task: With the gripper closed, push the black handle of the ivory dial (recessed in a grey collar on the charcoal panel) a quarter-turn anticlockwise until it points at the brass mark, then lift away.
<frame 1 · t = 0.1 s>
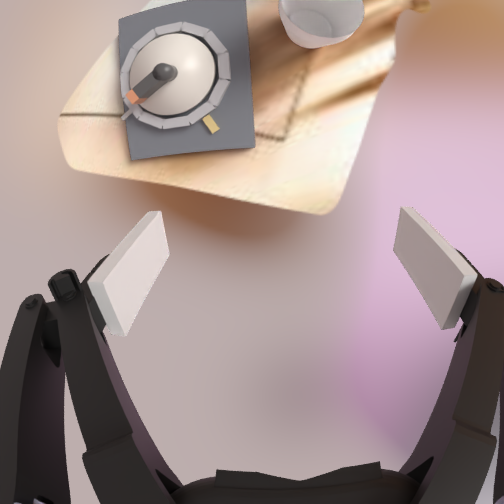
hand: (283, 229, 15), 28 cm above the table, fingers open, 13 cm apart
panel: (184, 74, 34), on the table
cup: (308, 29, 30), on the table
dial: (167, 73, 30), point 4 cm above the table, hinge at 0.0°
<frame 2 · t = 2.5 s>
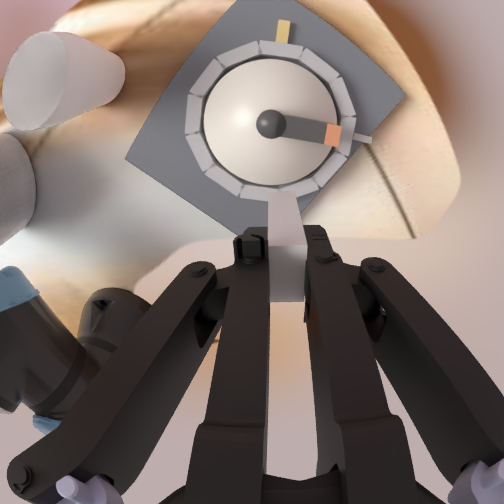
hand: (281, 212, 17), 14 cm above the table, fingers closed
panel: (262, 114, 26), on the table
planter: (9, 180, 30), on the table
cup: (102, 78, 24), on the table
dial: (270, 122, 23), point 4 cm above the table, hinge at 0.0°
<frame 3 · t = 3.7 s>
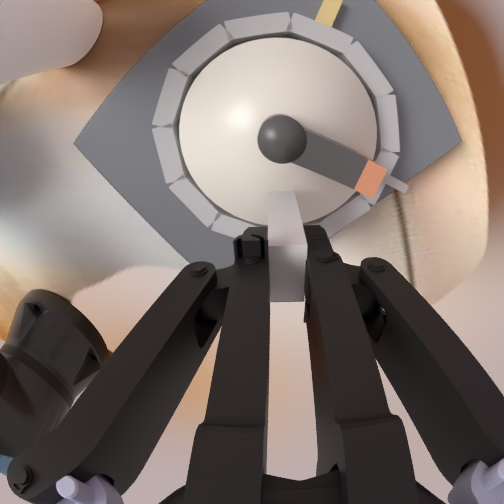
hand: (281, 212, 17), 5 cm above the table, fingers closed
panel: (268, 117, 18), on the table
cup: (73, 32, 14), on the table
dial: (280, 134, 15), point 4 cm above the table, hinge at 0.0°
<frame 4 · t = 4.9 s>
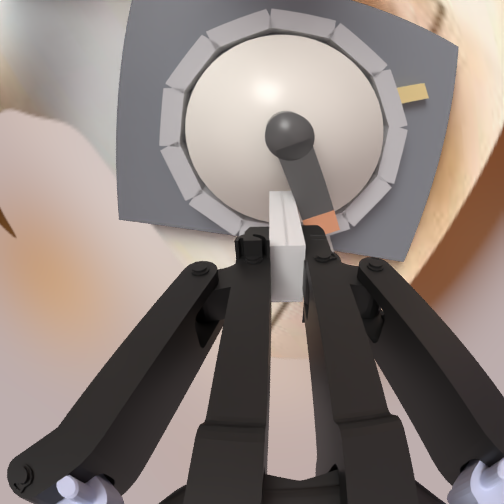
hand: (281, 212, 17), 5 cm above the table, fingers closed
panel: (285, 111, 18), on the table
dial: (287, 131, 15), point 4 cm above the table, hinge at 0.1°, touching gripper
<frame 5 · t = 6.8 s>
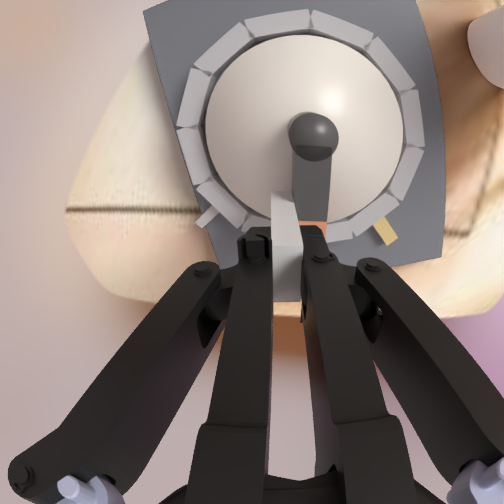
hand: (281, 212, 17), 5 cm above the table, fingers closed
panel: (316, 123, 18), on the table
cup: (491, 52, 12), on the table
dial: (309, 132, 15), point 4 cm above the table, hinge at 47.6°, touching gripper
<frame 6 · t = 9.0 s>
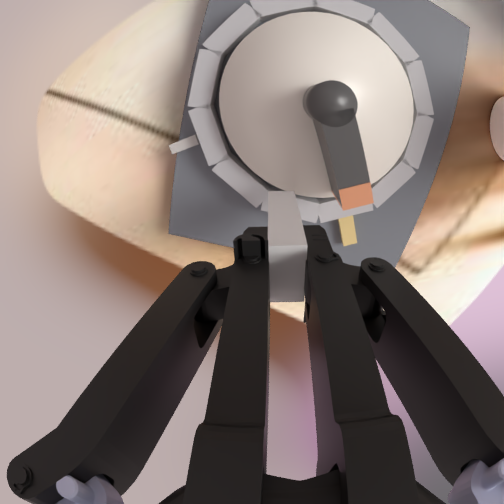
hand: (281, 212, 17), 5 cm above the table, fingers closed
panel: (327, 106, 18), on the table
dial: (324, 102, 14), point 4 cm above the table, hinge at 90.7°
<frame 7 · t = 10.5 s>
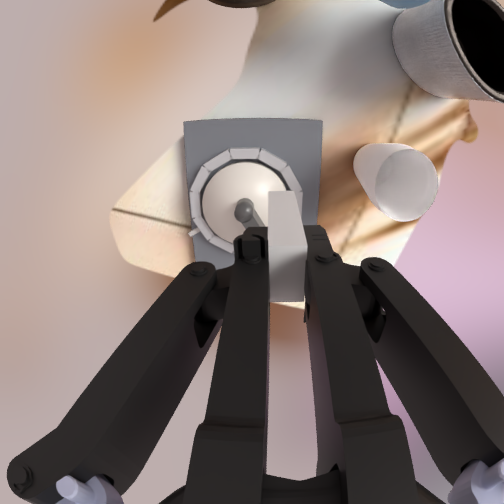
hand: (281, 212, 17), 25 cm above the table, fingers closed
panel: (253, 198, 42), on the table
planter: (431, 51, 28), on the table
cup: (372, 164, 39), on the table
dial: (244, 207, 38), point 4 cm above the table, hinge at 90.7°
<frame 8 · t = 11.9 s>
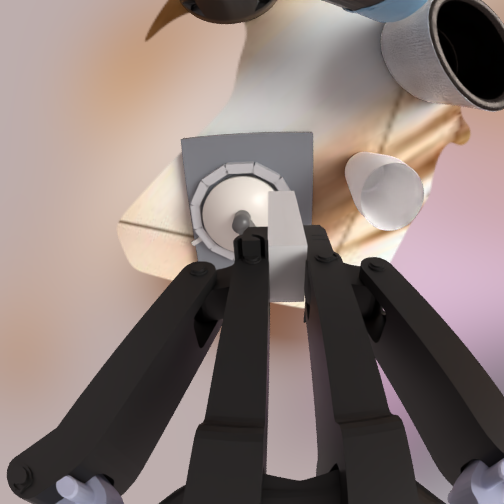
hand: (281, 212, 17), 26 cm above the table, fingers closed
panel: (250, 208, 45), on the table
planter: (421, 55, 30), on the table
cup: (364, 171, 41), on the table
dial: (242, 219, 41), point 4 cm above the table, hinge at 90.7°
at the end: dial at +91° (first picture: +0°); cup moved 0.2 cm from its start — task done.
